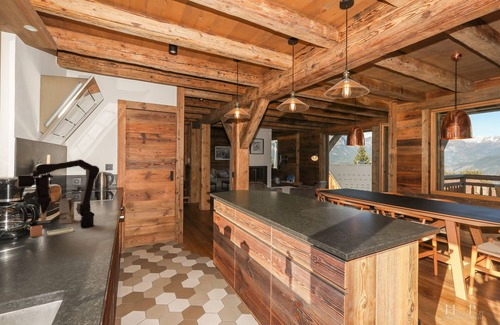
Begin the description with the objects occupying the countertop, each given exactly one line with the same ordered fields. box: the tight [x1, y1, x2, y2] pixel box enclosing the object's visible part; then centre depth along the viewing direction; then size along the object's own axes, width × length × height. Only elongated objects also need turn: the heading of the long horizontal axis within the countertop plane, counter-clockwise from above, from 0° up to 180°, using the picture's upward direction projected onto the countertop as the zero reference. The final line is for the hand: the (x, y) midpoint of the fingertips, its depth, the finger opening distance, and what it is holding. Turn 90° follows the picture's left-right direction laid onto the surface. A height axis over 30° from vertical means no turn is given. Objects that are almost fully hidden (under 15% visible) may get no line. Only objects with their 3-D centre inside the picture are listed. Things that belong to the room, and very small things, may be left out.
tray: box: [46, 227, 75, 237], centre depth 140 cm, size 12×9×1 cm
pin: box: [40, 207, 47, 223], centre depth 136 cm, size 2×2×9 cm
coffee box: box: [58, 197, 75, 225], centre depth 163 cm, size 9×6×16 cm
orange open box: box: [29, 225, 44, 238], centre depth 135 cm, size 5×5×5 cm
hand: (43, 212), depth 136 cm, fingers closed on pin, 2 cm apart
